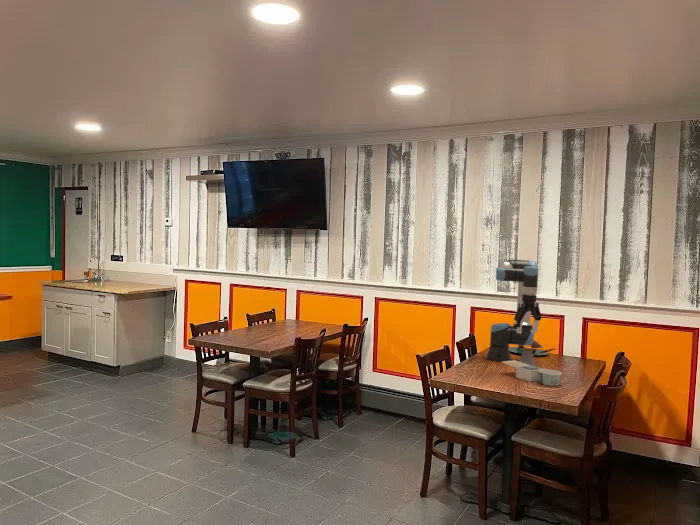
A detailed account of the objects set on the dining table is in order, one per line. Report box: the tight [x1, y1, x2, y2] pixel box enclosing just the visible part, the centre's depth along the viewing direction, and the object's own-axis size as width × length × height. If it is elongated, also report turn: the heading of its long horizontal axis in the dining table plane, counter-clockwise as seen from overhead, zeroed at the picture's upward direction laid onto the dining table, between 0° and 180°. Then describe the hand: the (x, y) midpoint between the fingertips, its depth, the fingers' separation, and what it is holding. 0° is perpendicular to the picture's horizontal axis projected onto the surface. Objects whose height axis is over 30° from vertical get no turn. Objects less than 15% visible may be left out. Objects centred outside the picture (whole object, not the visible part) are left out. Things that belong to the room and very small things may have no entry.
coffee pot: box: [517, 347, 557, 367], centre depth 321 cm, size 21×12×15 cm, turn 72°
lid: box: [501, 359, 529, 368], centre depth 311 cm, size 11×11×1 cm
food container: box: [539, 368, 563, 387], centre depth 293 cm, size 12×12×6 cm
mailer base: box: [515, 365, 543, 383], centre depth 302 cm, size 10×11×6 cm
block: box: [524, 366, 538, 370], centre depth 302 cm, size 5×5×6 cm
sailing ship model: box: [509, 339, 549, 356], centre depth 381 cm, size 28×28×11 cm
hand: (527, 332), depth 304 cm, fingers open, 13 cm apart
